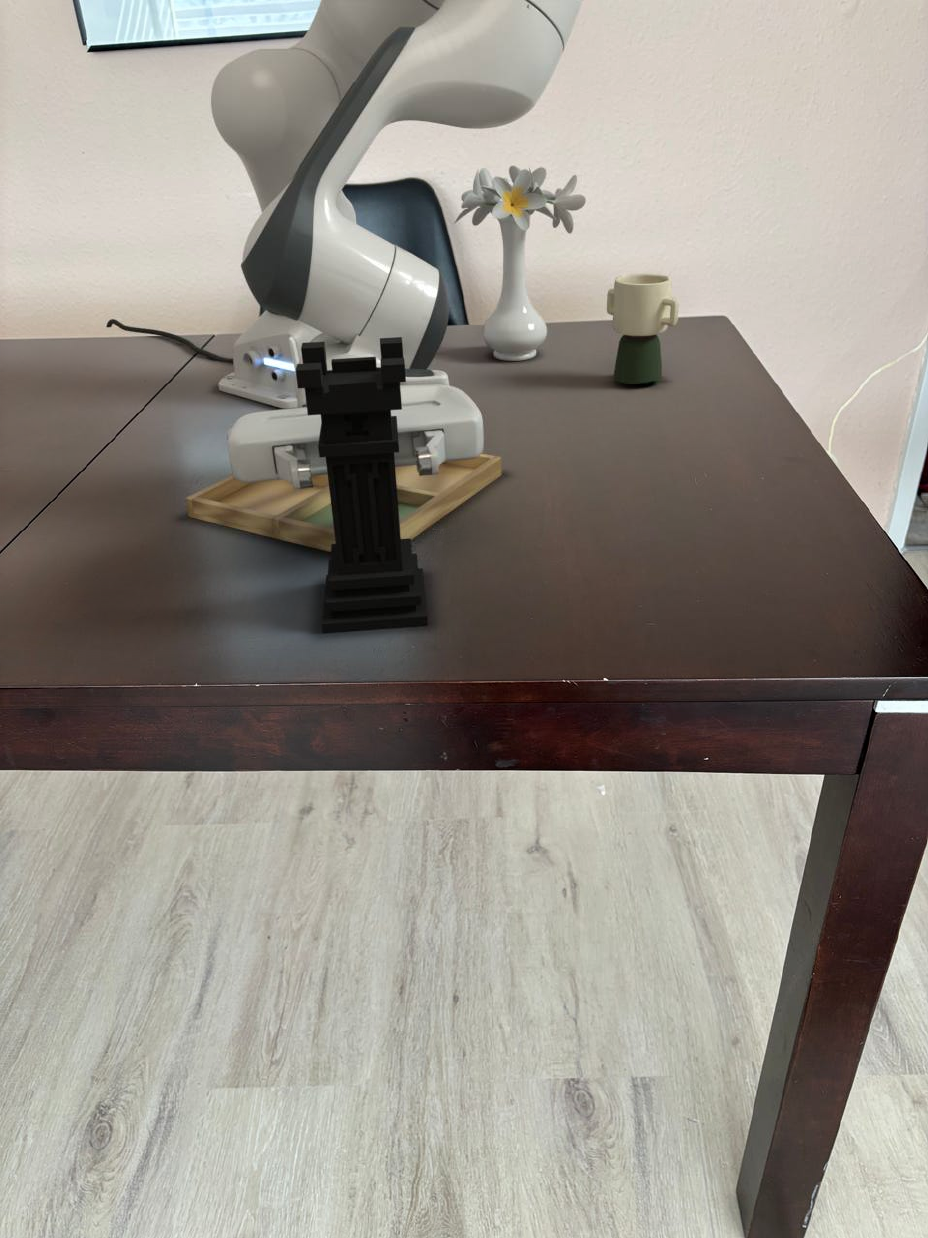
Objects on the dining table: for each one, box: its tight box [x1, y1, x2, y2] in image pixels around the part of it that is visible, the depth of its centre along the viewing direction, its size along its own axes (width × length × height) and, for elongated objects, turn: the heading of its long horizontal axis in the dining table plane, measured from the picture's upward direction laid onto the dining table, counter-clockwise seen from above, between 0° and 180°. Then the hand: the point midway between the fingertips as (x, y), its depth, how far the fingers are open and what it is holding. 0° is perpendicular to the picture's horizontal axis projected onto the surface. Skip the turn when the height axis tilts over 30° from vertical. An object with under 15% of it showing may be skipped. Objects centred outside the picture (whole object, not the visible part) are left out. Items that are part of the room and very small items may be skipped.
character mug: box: [606, 273, 680, 386], centre depth 121 cm, size 11×7×13 cm, turn 43°
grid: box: [184, 453, 502, 553], centre depth 95 cm, size 22×22×2 cm
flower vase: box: [453, 165, 587, 362], centre depth 132 cm, size 13×18×25 cm
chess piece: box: [296, 337, 429, 634], centre depth 71 cm, size 8×8×20 cm
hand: (366, 472), depth 71 cm, fingers open, 8 cm apart
